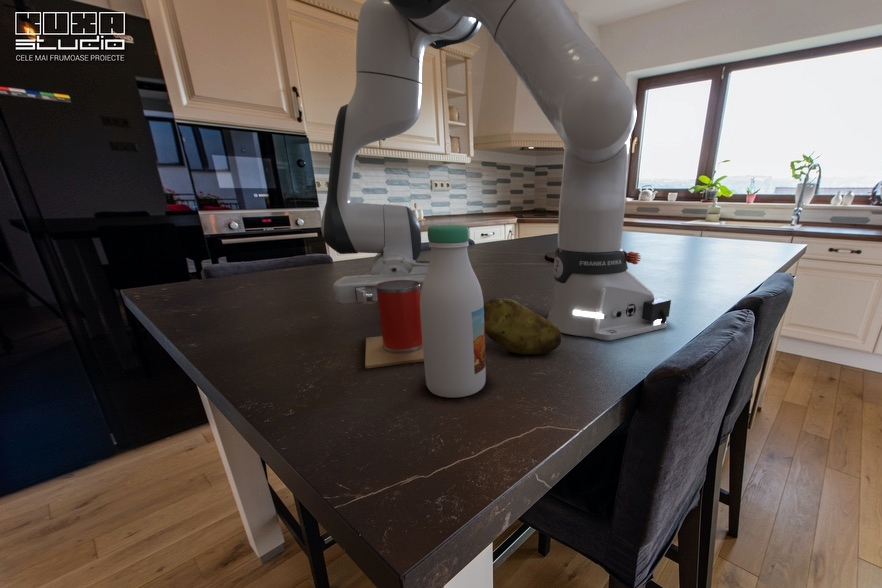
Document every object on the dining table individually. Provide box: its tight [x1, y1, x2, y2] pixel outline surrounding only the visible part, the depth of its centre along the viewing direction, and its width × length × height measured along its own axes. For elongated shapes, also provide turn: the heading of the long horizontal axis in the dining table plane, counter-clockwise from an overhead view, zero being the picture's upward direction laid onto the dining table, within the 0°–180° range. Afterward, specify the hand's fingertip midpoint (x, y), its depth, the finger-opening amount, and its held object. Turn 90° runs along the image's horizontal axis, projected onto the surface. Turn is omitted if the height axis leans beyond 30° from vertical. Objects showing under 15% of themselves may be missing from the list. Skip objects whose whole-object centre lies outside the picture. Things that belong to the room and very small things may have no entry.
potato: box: [483, 297, 562, 356], centre depth 62 cm, size 8×13×8 cm, turn 54°
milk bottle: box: [420, 224, 487, 399], centre depth 48 cm, size 8×8×20 cm
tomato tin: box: [376, 280, 423, 353], centre depth 61 cm, size 6×6×10 cm
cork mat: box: [364, 335, 424, 370], centre depth 63 cm, size 12×12×1 cm
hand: (398, 297), depth 64 cm, fingers open, 8 cm apart
